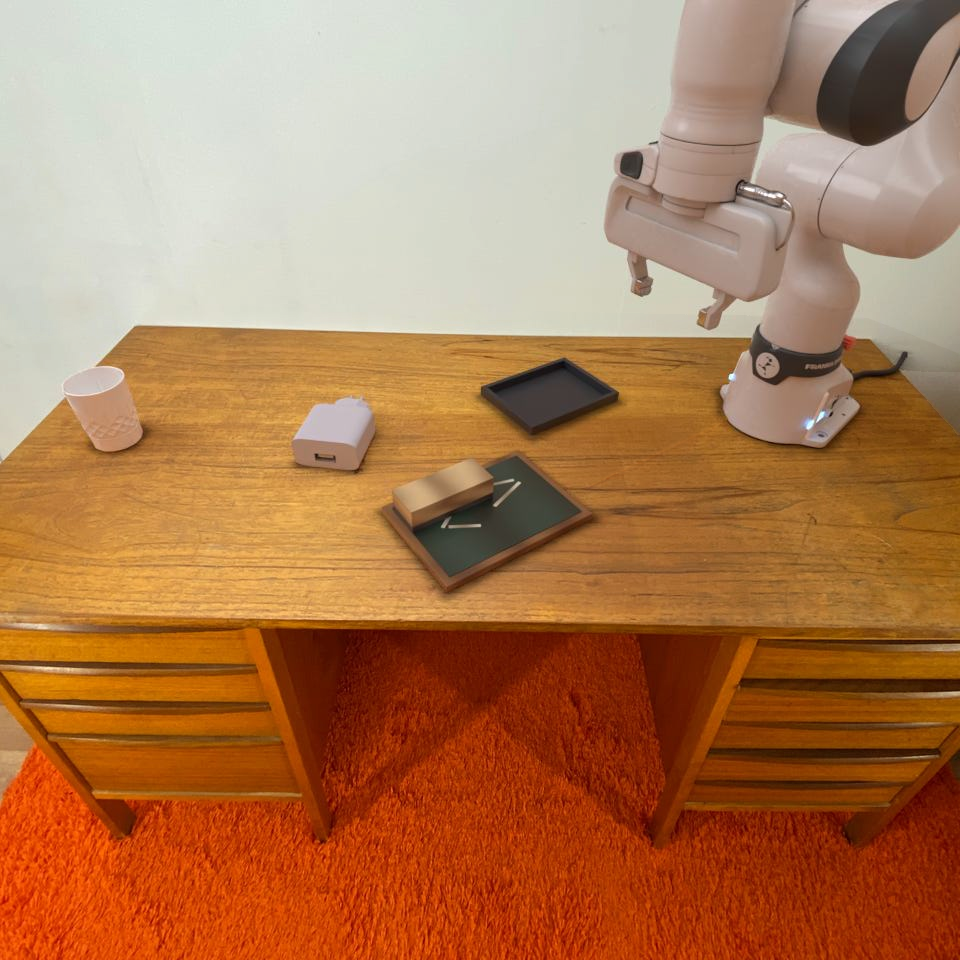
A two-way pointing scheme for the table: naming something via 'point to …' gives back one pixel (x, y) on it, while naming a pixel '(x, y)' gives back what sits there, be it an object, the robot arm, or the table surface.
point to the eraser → (442, 494)
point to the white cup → (104, 407)
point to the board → (495, 523)
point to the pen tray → (548, 395)
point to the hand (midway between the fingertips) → (672, 309)
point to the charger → (335, 435)
